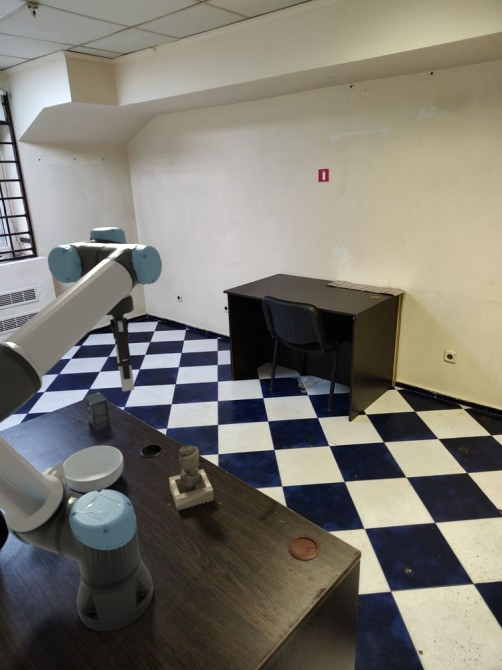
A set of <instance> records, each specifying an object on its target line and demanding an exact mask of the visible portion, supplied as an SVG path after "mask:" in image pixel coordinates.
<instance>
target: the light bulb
mask: <svg viewBox="0 0 502 670" xmlns="http://www.w3.org/2000/svg"><path fill="white" fill-rule="evenodd" d="M177 452H178V459H179V460H178V462H179V467H180V468H181V470H180V473H179V475H180V478H181V482H182V484H183V485H184V486H185V488H186V492H190V491H194V490H196V484H197V483H198V481H199V476H200V474H199V470H200V469H199V468H198V467H200V461H199V460H200V450H199V448H198V447H197V446H196V445H186V446H185V445H184V446H181V447H180V448H179V449H178V451H177Z"/></svg>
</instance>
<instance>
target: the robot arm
mask: <svg viewBox="0 0 502 670" xmlns="http://www.w3.org/2000/svg"><path fill="white" fill-rule="evenodd" d="M125 232H126V231H125V230H124V229H123V228H121V227H118V226H117V227H115V226H114V227H113V226H111V227H110V226H108V227H107V226H106V227H97V228H93V229H91V230H90V233H89V235H90V237H89V240H85V241H77V242H72V243H64V244H61V245H58V246H55V247H53V248H52V249H51V250H50V251H49V254H48V257H47V264H48V271H50V273H51V275H52V276H53V278H54V279H55V280H57V281H58V282H59V283H63V284H70V283H72V284H71V286H69V287H68V288H67V289H65V290H64V291H63V292H61V294H60V295H58V296H57V297H56V298H55V299H54V300H51V302H50V303H48V304H47V305H46V306H45V307H43V308H42V309H40V310H39V311H38V312H37V313H36V314H35V315H33V316H32V317H31V318H30V319H29V320H27V321H26V322H24V324H23V325H21V326H20V327H18V329H16V330H15V331H14V332H12V333H11V334H10V335H9V336H8V337H6V339H4V340H3V341H0V424H1V423H3V422H4V421H6V420H7V419H9V418H10V417H12V415H14V414H15V413H16V412H18V410H20V409H21V408H22V407H24V406H25V404H27V403H28V402H29V401H30V400H31V399H32V398H33V397H34V396H36V394H37V393H38V392H39V391H41V389H42V387H43V378H44V376H45V375H46V374H47V373H48V372H49V371H50V370H51V369H52V368H53V367H54V366H55V365H57V364H58V362H60V360H62V358H63V357H64V356H65V355H67V353H69V351H70V350H72V349H73V347H75V345H77V344H78V343H79V342H80V341H81V340H82V339H83V338H84V337H85V336H86V335H87V334H88V333H89V332H90V331H91V330H92V329H93V328H94V327H95V326H96V325H97V324H98V323H99V322H100V321H101V320H103V318H104V317H105V316H112V317H111V318H110V319H109V322H110V329H111V330H112V335H113V339H114V340H115V341H114V343H115V353H116V360H117V363H115V365H116V367H117V368H118V371H119V375H120V382H121V383H120V384H121V390H122V392H128V391H135V383H134V375H133V368H132V365H133V364H132V363H133V362H132V360H131V359H132V357H131V352H130V344H129V339H128V338H129V337H130V335H129V320H128V318H127V317H126V316H124V315H126V314H129V313H132V312H133V311H134V309H135V307H134V299H133V295H132V294H131V293H132V289H134V288H135V287H136V286H137V285H140V284H141V285H142V286H144V285H151V284H154V283H156V282H157V281H158V280H159V278H160V276H161V274H162V270H163V269H162V268H163V263H162V261H163V260H162V259H161V254H160V252H159V251H158V250H157V248H156V247H154V246H152V245H147V244H140V243H134V244H131V243H128V244H127V240H126V239H127V238H126V234H125ZM67 487H68V486H67ZM67 487H66V486H65V485H64V484H63V483H62V482H61V481H60V480H59V479H58V478H57V477H55V476H53V475H50V474H42V473H41V472H40V471H39V470H38V469H36V467H34V465H32V463H30V462H29V461H28V460H27V459H26V458H25V457H24V456H23V455H22V454H21V453H20V452H19V451H18V450H16V449H15V447H13V445H11V444H10V443H9V442H8V441H7V440H6V439H5V438H4V437H3V436H2V435H1V434H0V509H1V510H2V511H3V512H4V519H5V523H6V527H7V530H8V532H9V533H10V534H11V536H13V537H14V538H15V539H16V540H18V541H19V542H21V543H23V544H25V545H29V546H34V547H36V548H39V549H42V550H45V551H48V552H50V553H53V554H56V555H59V556H61V557H64V558H69V559H71V560H73V561H76V563H78V567H79V572H80V577H81V578H80V581H79V586H78V591H77V596H76V606H77V611H78V612H77V613H78V616H79V619H80V621H81V622H82V624H84V626H86V627H88V628H89V629H91V630H94V631H98V632H111V631H116V630H119V629H123V628H125V627H127V626H128V625H130V624H132V623H134V622H135V621H137V620H138V619H139V618H140V617H141V616H142V615H143V613H145V611H146V610H147V609H148V607H149V606H150V604H151V602H152V598H153V594H154V585H153V579H152V578H153V577H152V575H151V572H150V570H149V569H148V568H147V566H146V565H145V563H144V561H143V559H142V558H141V554H140V553H141V552H140V543H139V534H138V527H137V525H138V523H137V516H136V513H135V511H134V507H133V504H132V502H131V500H130V499H129V497H127V496H126V495H125V494H123V493H122V492H119V491H117V490H113V489H106V488H104V489H102V490H99V491H92V492H87V493H85V494H82V493H80V492H79V493H78V492H75V491H73V490H71V489H70V488H69V487H68V488H67Z"/></svg>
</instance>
